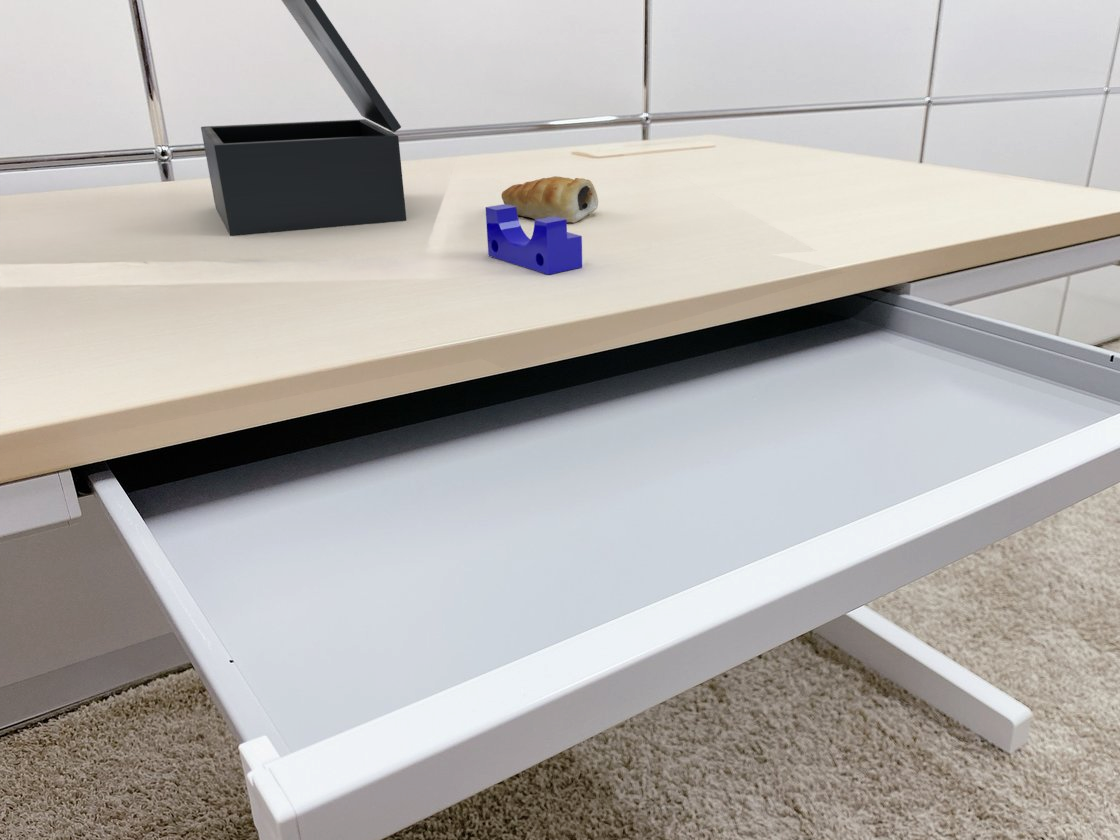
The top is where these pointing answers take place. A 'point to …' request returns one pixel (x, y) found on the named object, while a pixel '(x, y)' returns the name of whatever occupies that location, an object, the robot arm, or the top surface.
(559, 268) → the cable holder
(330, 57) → the bin lid
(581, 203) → the pastry
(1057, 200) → the top surface
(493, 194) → the top surface
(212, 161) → the dark grey bin
